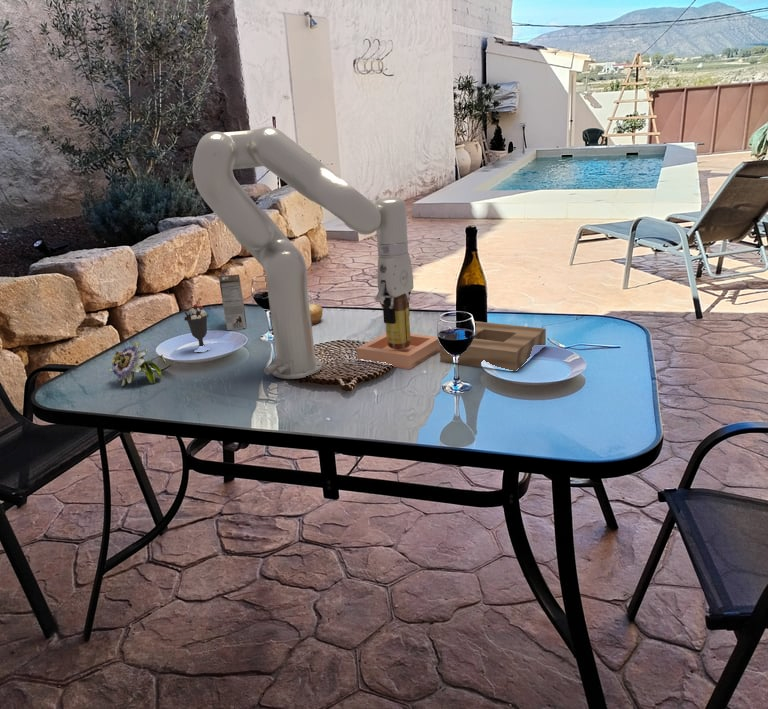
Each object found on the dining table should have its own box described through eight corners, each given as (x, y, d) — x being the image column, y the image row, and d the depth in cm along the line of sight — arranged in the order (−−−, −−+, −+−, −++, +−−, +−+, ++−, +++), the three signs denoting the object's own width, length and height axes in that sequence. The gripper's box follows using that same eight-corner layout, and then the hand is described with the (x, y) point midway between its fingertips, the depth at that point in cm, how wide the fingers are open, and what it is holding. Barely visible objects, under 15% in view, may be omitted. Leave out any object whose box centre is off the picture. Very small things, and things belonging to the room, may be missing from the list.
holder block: (515, 372, 145) (515, 352, 144) (440, 361, 156) (439, 342, 155) (545, 347, 161) (545, 328, 159) (475, 338, 172) (474, 321, 170)
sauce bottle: (400, 341, 166) (396, 267, 160) (416, 346, 162) (413, 270, 156) (381, 347, 162) (377, 271, 156) (396, 351, 158) (393, 274, 152)
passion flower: (129, 405, 157) (96, 369, 155) (158, 382, 166) (126, 348, 164) (149, 387, 150) (114, 350, 149) (178, 364, 159) (145, 329, 157)
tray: (410, 369, 152) (409, 355, 151) (357, 360, 161) (356, 348, 160) (441, 349, 165) (441, 337, 164) (390, 342, 173) (390, 330, 172)
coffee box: (226, 324, 205) (218, 275, 199) (246, 321, 206) (239, 273, 201) (226, 331, 196) (218, 281, 191) (247, 328, 198) (240, 278, 192)
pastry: (278, 324, 200) (275, 297, 197) (306, 316, 208) (303, 290, 205) (303, 330, 192) (300, 302, 189) (331, 320, 200) (328, 293, 197)
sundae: (218, 346, 182) (209, 296, 177) (208, 353, 175) (199, 302, 171) (197, 346, 183) (188, 296, 178) (186, 354, 177) (177, 302, 172)
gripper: (386, 256, 145) (391, 330, 151) (423, 244, 158) (426, 312, 164) (360, 255, 149) (365, 327, 155) (398, 243, 163) (402, 310, 168)
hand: (396, 319), depth 160 cm, fingers closed on sauce bottle, 5 cm apart
